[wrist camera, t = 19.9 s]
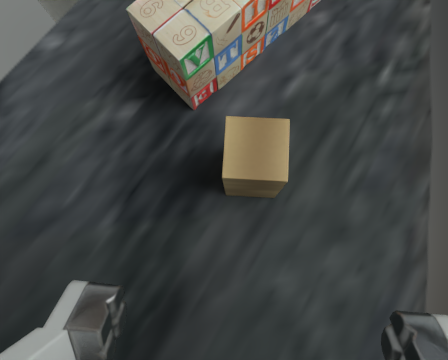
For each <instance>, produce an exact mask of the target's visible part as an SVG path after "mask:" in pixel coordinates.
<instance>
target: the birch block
mask: <svg viewBox="0 0 448 360" xmlns="http://www.w3.org/2000/svg"><path fill="white" fill-rule="evenodd" d="M289 127H290V119H276V118H255V117H234V116H226V124H225V139H224V154H223V169H222V180H223V184H224V189H225V193H226V195H233V196H250V197H267V198H274V197H275V196H276V195H277V194H278V193H279V191H280V190H281V189H282V188H283V187H284V185H285V184H286V183H287V182H288V160H289Z"/></svg>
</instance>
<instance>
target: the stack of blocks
mask: <svg viewBox="0 0 448 360" xmlns="http://www.w3.org/2000/svg"><path fill="white" fill-rule="evenodd" d="M319 1H320V0H136V1H135V2H133V3H132V4H131V5H129V6H128V7H127V8H126V10H127V13H128V15H129V17H130V19H131V21H132V24H133V26H134V28H135V30H136V32H137V34H138V35H137V36H138V38H139V40H140V42H141V44H142V47H143V49H144V51H145V53H146V55H147V56H148V58H149V60H150V62H151V64H152V66H153V68H154V70H155V71H156V72H157V73H158V74H159V75H160V76H161V77H162V78H163V79H164V80H165V81H166V82H167V83H168V84H169V85H170V86H171V87H172V88H173V90H174V91H175V92H176V93H177V94H178V95H179V96H180V97H181V98H182V99H183V100H184V101H185V102H186V103H187V104H188V105H189V106H190V107H191V108H192V109H193V110H195V109H196V108H197V106H198V105H199V104H201V103H202V102H203V101H204V100H205V99H207V98H208V97H209V96H210V95H211V94H212V93H213V92H215V91H217V90H219V89H220V88H222V87H223V86H224V85H225V84H226V83H227V82H228V81H230V80H231V79H232V78H233V77H234V76H235V75H236V74H238V73H239V72H240V71H241V70H242V69H243V68H244V66H245V65H246V64H248V63H249V62H250V61H252V60H253V59H254V58H255V57H256V56H257V55H258V54H260V53H262V52H263V50H264V49H265V48H266V46H267V45H268V44H270V43H272V42H273V41H274V40H276V39H277V38H278V36H279V35H280V34H282V33H284V32H285V31H286V30H287V29H288V28H290V27H291V26H292V25H293V24H294V23H295V22H296V21H298V20H299V19H300V18H301V17H302V16H303V15H305V14H306V13H308V12H309V10H310V9H311V8H312V7H313V6H315V5H316V4H317V3H318V2H319Z"/></svg>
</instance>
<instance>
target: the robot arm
mask: <svg viewBox="0 0 448 360" xmlns="http://www.w3.org/2000/svg"><path fill="white" fill-rule="evenodd" d="M124 294H125V292H124V287H123V286H121V285H113V284H104V283H96V282H87V281H78V280H73V281H72V282H70V283H69V284H68V286H67V287H66V289H65V291H64V292H63V294H62V296H61V298H60V299H59V301H58V303H57V304H56V306H55V308H54V309H53V311H52V313H51V315H50V316H49V318H48V320H47V321H46V323H45V325H44V326H43V328H36V329H35V330H33V331H32V332H30V333H29V334H28V335H26V336H25V337H23V338H22V339H20V340H19V341H18V342H16V343H15V344H13V345H12V346H10V347H9V348H8V349H6V350H5V351H3V352H2V353H0V360H113V357H114V354H115V351H116V344H115V340H116V339H117V338H118V337H119V336H120V335H121V334H122V332H123V329H124V326H125V321H126V316H127V306H126V302H125V301H123V300H122V299H123V296H124ZM390 321H391V323H392V324H390V325H388V326H387V327H385V328H384V330H383V333H382V337H381V346H382V352H383V355H384V358H385V360H448V315H437V314H428V313H419V312H407V311H395V312H393V313H392V314H391V316H390Z"/></svg>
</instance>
